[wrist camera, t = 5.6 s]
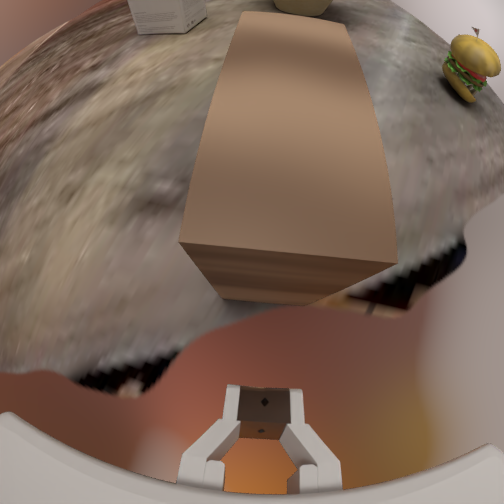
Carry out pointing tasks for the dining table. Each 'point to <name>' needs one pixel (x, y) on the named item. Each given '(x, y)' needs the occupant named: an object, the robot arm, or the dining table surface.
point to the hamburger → (470, 65)
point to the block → (289, 168)
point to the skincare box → (166, 15)
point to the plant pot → (303, 6)
